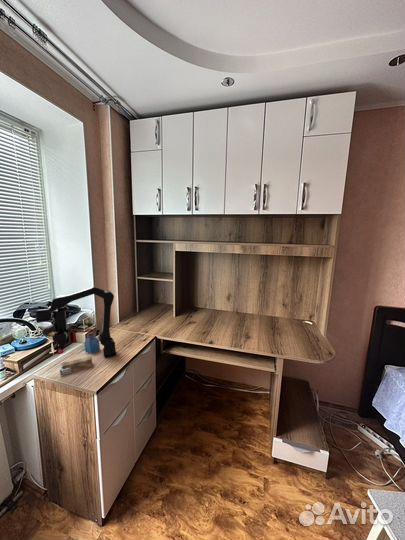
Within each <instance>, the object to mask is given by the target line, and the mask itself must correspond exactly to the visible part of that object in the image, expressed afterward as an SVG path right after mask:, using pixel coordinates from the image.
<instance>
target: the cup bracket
mask: <svg viewBox="0 0 405 540" xmlns="http://www.w3.org/2000/svg"><path fill="white" fill-rule="evenodd" d="M62 365H63V363H62V364H61V366H60V368H59V373H60V376H61V375H63V376H65V375H70V374H72V372H73V371H71V367H70V368H66V369H63V368H62ZM69 373H70V374H69Z"/></svg>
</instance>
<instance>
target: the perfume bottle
mask: <svg viewBox="0 0 405 540" xmlns="http://www.w3.org/2000/svg"><path fill="white" fill-rule="evenodd" d="M100 345H101V344H100V341H99V339H98V337H96V336H95V334H94V332H93V331H91V332H88V333H87V338H85V340H84V345H83V346H84V351H85V353H87V352H88V353H87V354H90V355H92V354H94V353H96V352H99V351H100V350H101V347H100Z"/></svg>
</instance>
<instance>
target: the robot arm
mask: <svg viewBox="0 0 405 540" xmlns="http://www.w3.org/2000/svg"><path fill="white" fill-rule="evenodd" d="M91 295H95V296H97V297H99V298H101V299H102V304H103V310H102V311H103V313H102V327H101V330H100V331H98V336H97V339H98V340H99V343H100V345H102V346H103V347H102V351H103V356H104V359H107V358H111V357H115V356H117V351H116V342H115V341H114V337H111V331H110V326H111V324H110V323H111V312H112V311H111V308H112V305H113V302H114V300H115V299H114V297H115V296H114V293H113V292H112V291H110V290H104V289H102V288H98V287H97V286H91V287H88V288H85V289H82V290H80V291H76V292H73V293H69V294H61V295H57V296H54V297H53V298H52V300H51V305H49V307H48V308H44V309H36V311H35V312H36V313H35V322H36V324H40V323H46V322H47V323H48V322H51V320H53V323H52V324H50V325H48V326H46V327H44V328H42V330H41V332H42V333H41V334H42V335H43V336H44V337H46V336H48V335H50V334H52V333H53V335H52V341H53V342H56V343H57V345H58V346H59V350H61V351H63V350H64V349H65V345H66V343H67V340H68V335H69V331H70V324H69V323H67V322H68V319H67V314H66V313H67V312H66V311H70V308H69V307H68V306H67V305H69V304H70V303H72V302H74V301H77V300H81V299H84V298H87V297H89V296H91Z"/></svg>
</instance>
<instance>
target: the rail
mask: <svg viewBox="0 0 405 540" xmlns="http://www.w3.org/2000/svg"><path fill="white" fill-rule="evenodd" d="M62 364H63V365H62ZM62 364H61V365H62V368H63V369H66V368H70V367H71V371H72V372H75V370H76V371H79V370H83V369H88V368H92V367H93V356H92V355H91V356H86V357H82V358H78V359H74V360H73V359H72V360H70V361H69V360H68V361H65V362H63V363H62Z"/></svg>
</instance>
